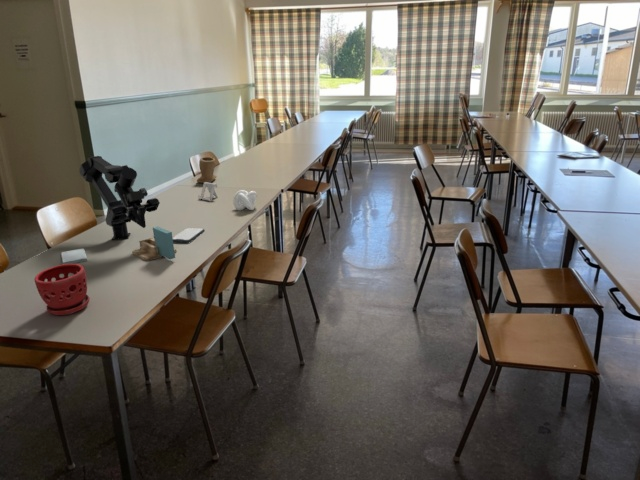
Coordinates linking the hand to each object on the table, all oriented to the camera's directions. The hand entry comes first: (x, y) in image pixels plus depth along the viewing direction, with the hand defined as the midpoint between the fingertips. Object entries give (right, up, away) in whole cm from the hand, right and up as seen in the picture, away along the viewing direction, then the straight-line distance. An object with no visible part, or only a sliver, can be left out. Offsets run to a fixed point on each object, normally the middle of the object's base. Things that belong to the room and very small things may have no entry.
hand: (144, 227), depth 185 cm
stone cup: (-2, +31, +113) cm, 118 cm away
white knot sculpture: (+31, +10, +53) cm, 62 cm away
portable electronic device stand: (+8, +17, +74) cm, 76 cm away
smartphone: (+12, -4, +18) cm, 22 cm away
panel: (+10, -11, -6) cm, 16 cm away
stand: (+4, -10, 0) cm, 11 cm away
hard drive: (-26, -12, -2) cm, 29 cm away
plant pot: (-8, -26, -41) cm, 49 cm away
